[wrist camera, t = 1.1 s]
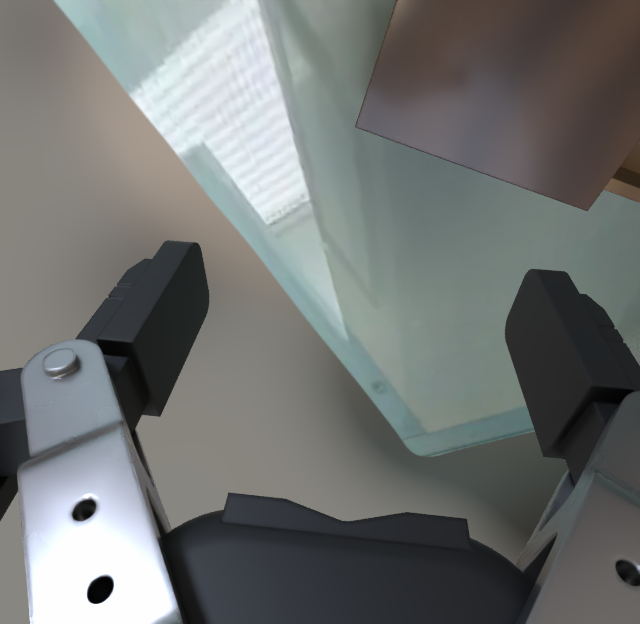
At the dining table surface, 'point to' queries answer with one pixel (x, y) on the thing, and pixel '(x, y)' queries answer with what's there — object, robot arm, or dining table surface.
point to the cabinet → (513, 89)
